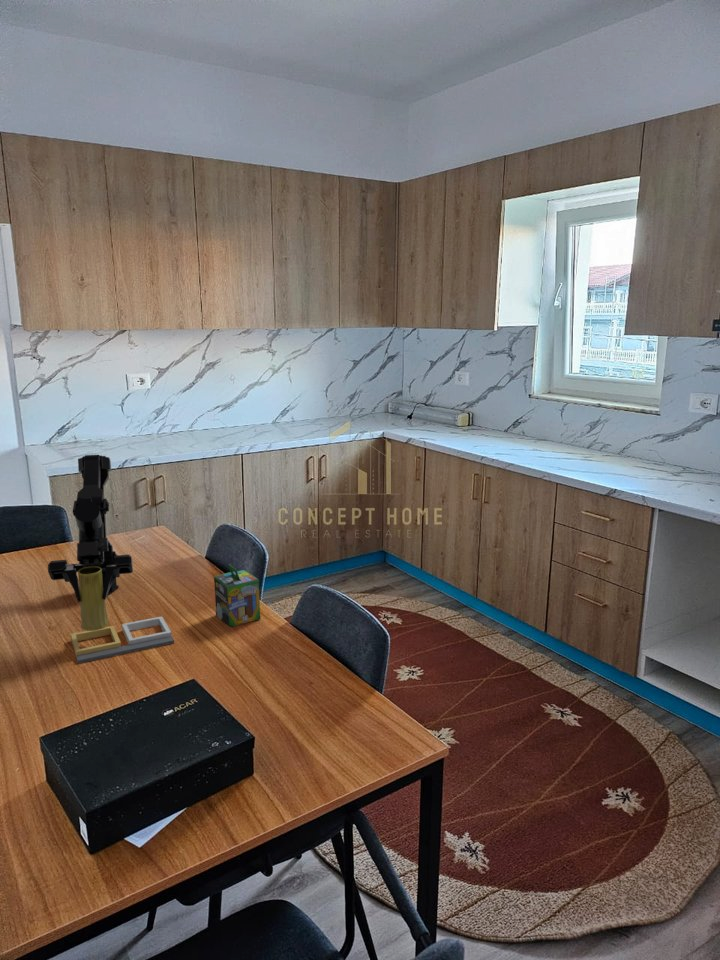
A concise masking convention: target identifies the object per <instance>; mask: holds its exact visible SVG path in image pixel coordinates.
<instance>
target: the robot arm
mask: <svg viewBox="0 0 720 960" xmlns="http://www.w3.org/2000/svg"><path fill="white" fill-rule="evenodd" d="M111 462H112V461H111V458H110V457H107V456H106V455H102V454H101V455H100V454H86V455H84V456H82V457H79V458H78V459H77V463H78V464H77V465H78V469H77V470H78V473H79V474H81V478H82V481H83V482H82V488H81V489H80V490H79V491H77V493H76V494H77V496H76V499H75V500H73V508H72V514H73V517H74V518H75V522H76V526H77V528H78V543H76V560H77V562H78V563H68V562H67V559H57V560H56V559H55V560H50V561H49V563H47V573H48V575H49V578H50V579H51V580H52V581H58V580H64V582H67V583H68V582H69V584H70V585H71V587H72V589H73V590H74V591H73V592H74V593H75V597H76V599H77V602H78V603H80V591H79V576H78V571H79V570H80V569H81V568H84V567H89V566H97V567H100V568H101V569H102V579H103V589H104V590H103V599H104V600H105V601H106V600H107V596H109V595H110V594H112V593H113V592H114V591H116V590H118V589H119V588H120V587H119V585H118V584H117V579H118V578H119V577H120V576H121V575H124V574H125V575H126V574H133V571H134V569H133V568H134V567H133V558H132V556H131V554H119V555H117V553H116V551H114V548H113V547H114V546H113V545H112V543H111V542H110V540H109V538H108V536H107V524H106V523H107V522H106V521H107V520H106V515H107V513H108V512H110V502H109V501H108V499H107V498H105V486H106V484H107V482H108V481H109V479H110V472H112V464H111Z"/></svg>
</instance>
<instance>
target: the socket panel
mask: <svg viewBox="0 0 720 960" xmlns="http://www.w3.org/2000/svg"><path fill="white" fill-rule="evenodd" d="M156 626H159V627H160V628H161V631H162V632H161V631H160V632H157V633H153V634H147V635H142V636H137V637H133V635H132V633H131V631H132V632H133V631H136V630H140V629H146V628H151V627H152V628H153V627H156ZM121 629H122V633H123V635H124V638H125V640H126V642H127V644H126V645H122V642H121V639H120V638H119V635H118V633H117V630H116V628H115V625H109V626H106V627H104V628H102V629H99V630H95V631H87V630H84V631H79V632H75V633H70V637H71V643H72V648H73V652H74V655H75V658H76V661H77V664H83V663H88V662H92V661H97V660H102V659H107V658H111V657H116V656H120V655H125V654H130V653H135V652H139V651H143V650H148V649H153V648H159V647H162V646H167V645H172V644H175V639H174V637H173V635H172V631H171V629H170V627H169V626H168V624H167V622H166V621H165V619H164V617H163V616H157V617H152V618H147V619H141V620H136V621H130V622H126V623H122V624H121ZM104 636H105V637H106V636H111V639H112V642H107V643H104V644H103V643H102V644H99V645H98V644H97V645H93V646H88V647H83V648H80V644H79V642H80V641H81V642H82V641H86V640H91V639H96V638H100V637H104Z"/></svg>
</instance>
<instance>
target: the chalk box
mask: <svg viewBox="0 0 720 960" xmlns="http://www.w3.org/2000/svg"><path fill="white" fill-rule="evenodd" d="M228 568H229V571H230V572H226V573H225V572H224V573H222V574H218V575H214V577H213V581H214V582H213V583H214V598H215V599H214V601H215V616H217V618H218V619H219V620H221V622H222V623H224V624H225V625H226V626H227V628H229V627H230V628H232V627H236V626H240V625H244V624H247V623H250V622H253V621H258V620H261V606H260V605H261V603H260V601H261V600H260V580H259V578H257V577H256V576H255V575H253V574H252V573H250V572H248V571H247V570H245V569H242V570H237V568H236V567H234V566H233V565H231V564H230V563H228Z"/></svg>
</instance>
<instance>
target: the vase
mask: <svg viewBox="0 0 720 960" xmlns="http://www.w3.org/2000/svg"><path fill="white" fill-rule="evenodd" d="M77 577H78V583H79V591H80V602H79V604H80V606H79V607H80V618H81V622H80V623H81V624H80V625H81V626H80V628H81V629H82V630H84V631H95V630H99V629H102V628H104V627H108V625H109V621H108V619H109V618H108V613H107V607H106V600H104V599H103V590H104V589H103V579H102V569H101V568H100V567H97V566H89V567H84V568H81V569H80V570H79V571H78V572H77Z"/></svg>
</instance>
